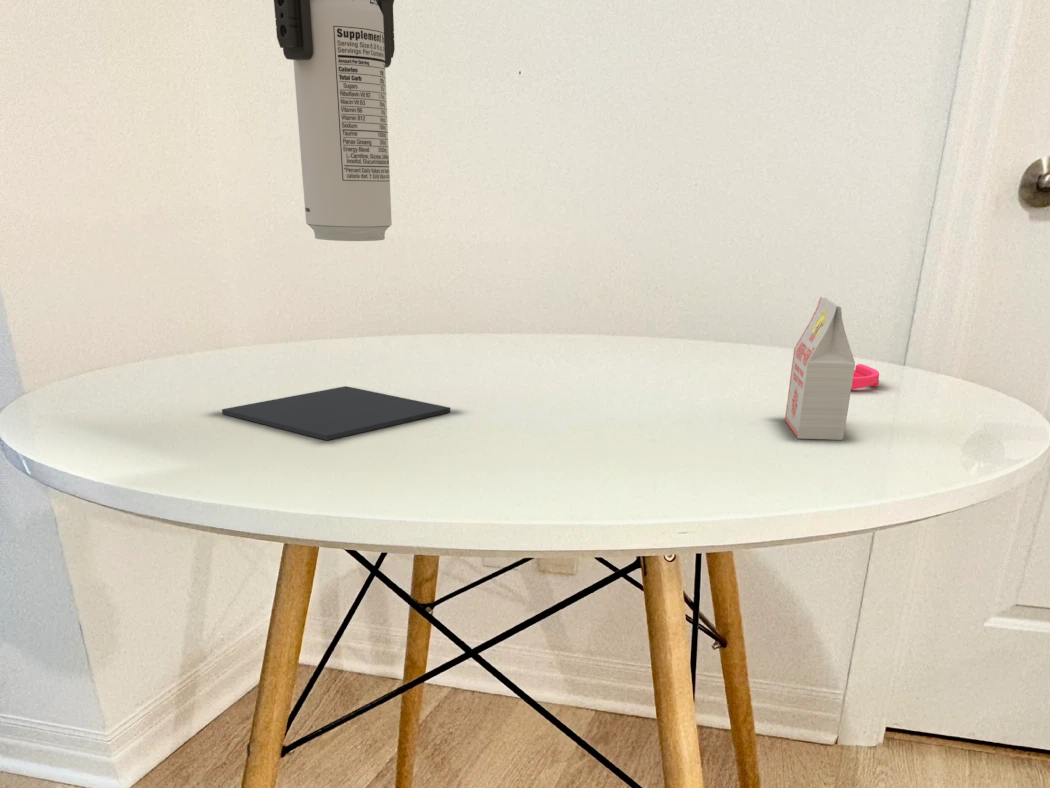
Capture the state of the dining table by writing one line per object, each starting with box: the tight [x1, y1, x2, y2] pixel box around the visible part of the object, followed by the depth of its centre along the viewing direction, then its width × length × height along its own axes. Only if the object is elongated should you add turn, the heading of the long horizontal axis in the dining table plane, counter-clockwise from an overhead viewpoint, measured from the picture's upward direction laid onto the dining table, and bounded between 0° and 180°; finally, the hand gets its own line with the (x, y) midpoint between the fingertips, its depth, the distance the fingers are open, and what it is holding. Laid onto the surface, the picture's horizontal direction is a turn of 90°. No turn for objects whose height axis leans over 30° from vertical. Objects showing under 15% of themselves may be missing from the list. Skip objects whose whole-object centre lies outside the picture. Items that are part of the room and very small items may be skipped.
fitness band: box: [851, 363, 880, 390], centre depth 102 cm, size 8×6×2 cm
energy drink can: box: [292, 0, 393, 242], centre depth 68 cm, size 6×6×15 cm
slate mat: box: [221, 385, 451, 441], centre depth 88 cm, size 14×14×1 cm
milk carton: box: [784, 296, 856, 441], centre depth 82 cm, size 4×7×10 cm, turn 176°
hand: (338, 62), depth 67 cm, fingers closed on energy drink can, 6 cm apart
